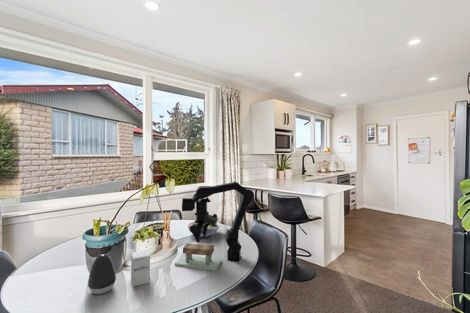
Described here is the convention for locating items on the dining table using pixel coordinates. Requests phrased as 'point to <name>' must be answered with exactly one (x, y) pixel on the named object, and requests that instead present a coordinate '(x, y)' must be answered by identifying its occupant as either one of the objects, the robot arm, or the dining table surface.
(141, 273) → the supplement box
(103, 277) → the tapered speaker
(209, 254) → the brown rectangular block
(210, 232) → the ramen bowl
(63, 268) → the dining table surface
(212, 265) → the peg base
